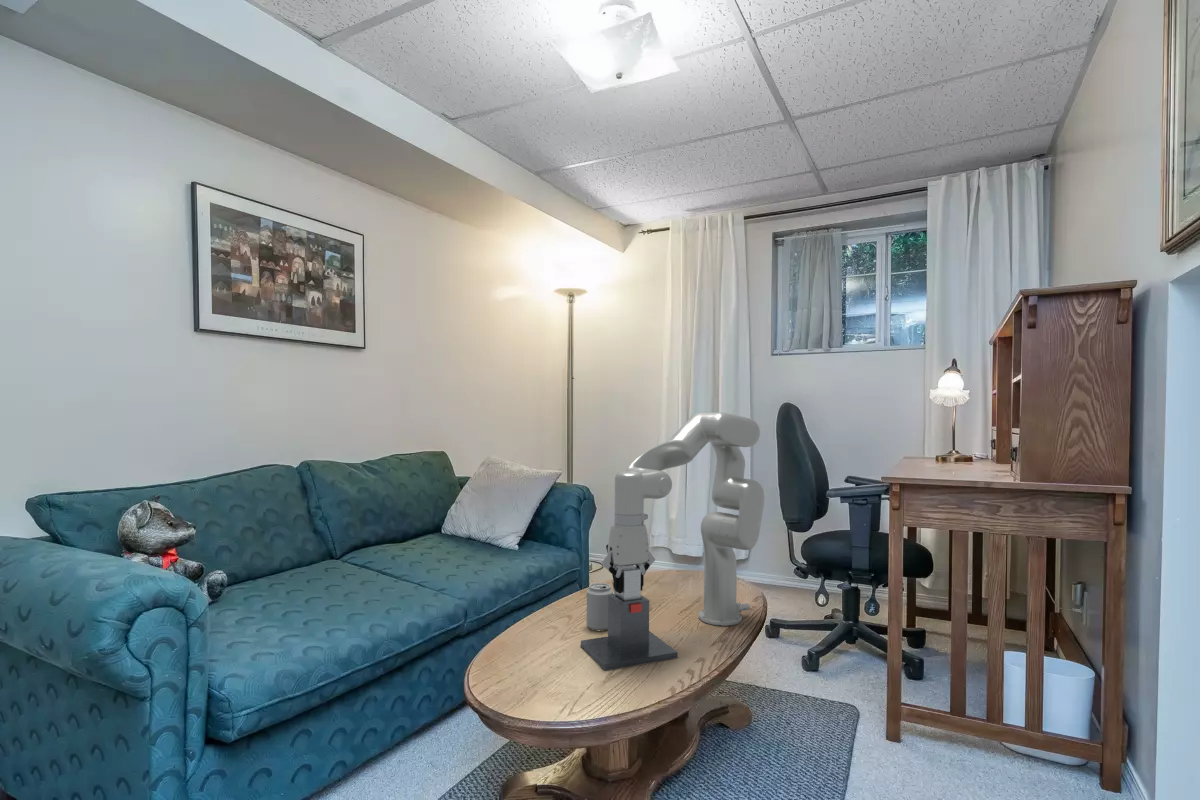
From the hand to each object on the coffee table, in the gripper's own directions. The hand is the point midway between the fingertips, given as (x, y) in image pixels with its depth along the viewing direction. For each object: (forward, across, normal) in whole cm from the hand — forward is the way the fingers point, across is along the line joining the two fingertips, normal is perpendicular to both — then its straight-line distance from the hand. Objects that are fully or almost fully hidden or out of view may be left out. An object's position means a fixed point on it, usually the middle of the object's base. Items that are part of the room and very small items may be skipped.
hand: (628, 589), depth 157 cm
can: (+16, 0, -19) cm, 25 cm away
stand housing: (+16, 0, 0) cm, 16 cm away
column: (+14, 0, 0) cm, 14 cm away
